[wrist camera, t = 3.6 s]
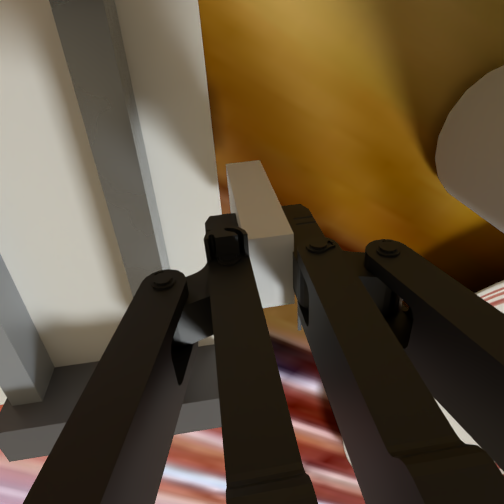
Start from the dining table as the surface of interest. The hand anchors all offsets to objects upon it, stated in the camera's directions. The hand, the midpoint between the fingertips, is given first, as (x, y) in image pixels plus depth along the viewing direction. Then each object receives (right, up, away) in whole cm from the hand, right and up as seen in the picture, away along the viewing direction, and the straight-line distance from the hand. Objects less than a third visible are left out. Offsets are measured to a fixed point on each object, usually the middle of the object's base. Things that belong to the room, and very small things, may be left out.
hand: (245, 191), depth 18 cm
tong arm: (-5, 0, 0) cm, 5 cm away
